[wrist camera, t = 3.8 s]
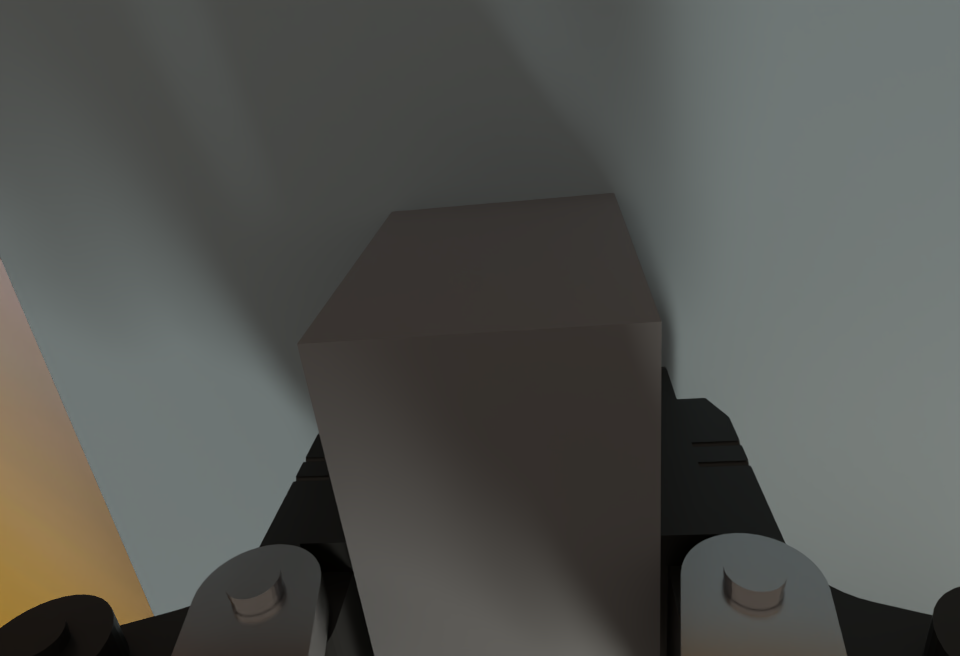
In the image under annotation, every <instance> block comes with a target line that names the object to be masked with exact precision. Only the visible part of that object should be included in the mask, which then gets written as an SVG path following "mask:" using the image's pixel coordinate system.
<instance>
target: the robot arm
mask: <svg viewBox="0 0 960 656" xmlns="http://www.w3.org/2000/svg"><path fill="white" fill-rule="evenodd" d="M748 461H749V460H748V458H747V456H746V454H745V451H744V449H743V447H742V445H740V440H739V438H738V436H737V433H736V431H735V429H734V427H733V424H732V422H731V420H730V418H729V416H727V415H726V414H725V413H724V412H722V411H721V410H720V409H719V408H717V407H716V406H715V405H714V404H712V403H711V402H710V401H709V400H707V399H706V398H691V399H677V398H676V395H675V392H674V389H673V386H672V383H671V380H670V377H669V374H668V371H667V369H666V367H661V544H660V656H960V587H957V588H954V589H952V590H950V591H948V592H947V593H945V594H944V595H943V596H942V597H941V598H940V599H939V600H938V601H937V603H936V605H935V607H934V610H933V615H929V614H925V613H921V612H916V611H912V610H907V609H903V608H898V607H894V606H890V605H885V604H881V603H876V602H872V601H869V600H865V599H861V598H858V597H855V596H852V595H850V594H847V593H844V592H842V591H840V590H838V589H836V588H834V587H832V586H830V585H829V584H828V582H827V580H826V578H825V576H824V575H823V573H822V572H821V570H820V569H819V568H818V567H817V566H816V565H815V564H814V563H813V562H812V561H811V560H810V559H809V558H808V557H806V556H805V555H804V554H802V553H801V552H799V551H798V550H796V549H795V548H793V547H791V546H789V545H787V544H786V543H785V541H784V539H783V537H782V534H781V532H780V530H779V528H778V525H777V523H776V521H775V519H774V516H773V514H772V512H771V510H770V507H769V505H768V503H767V501H766V498H765V496H764V494H763V492H762V489H761V487H760V485H759V483H758V481H757V478H756V476H755V474H754V472H753V469H752V467H751V466H749V462H748ZM0 656H374V652H373V648H372V644H371V640H370V636H369V632H368V628H367V624H366V620H365V616H364V612H363V608H362V604H361V600H360V596H359V592H358V588H357V584H356V580H355V576H354V572H353V568H352V564H351V560H350V556H349V552H348V547H347V543H346V539H345V535H344V531H343V527H342V523H341V519H340V515H339V511H338V507H337V503H336V499H335V495H334V491H333V487H332V483H331V479H330V475H329V471H328V467H327V463H326V459H325V455H324V451H323V447H322V443H321V439H320V435H319V434H318V435H317V436H316V438H315V440H314V442H313V444H312V446H311V448H310V450H309V452H308V454H307V456H306V462H303V463H302V465H301V467H300V469H299V471H298V473H297V475H296V481H294V482H293V483H292V485H291V487H290V488H289V490H288V492H287V494H286V496H285V498H284V500H283V502H282V504H281V506H280V508H279V510H278V512H277V514H276V515H275V517H274V519H273V521H272V523H271V525H270V527H269V529H268V531H267V533H266V535H265V537H264V539H263V541H262V542H261V544H260V546H259V547H258V548H255V549H252V550H248V551H246V552H244V553H241V554H239V555H237V556H235V557H233V558H232V559H230V560H228V561H226V562H225V563H224V564H222V565H221V566H219V567H218V568H217V569H216V570H215V571H213V572H212V573H211V574H210V575H209V576H208V577H207V578H206V579H205V580H204V582H203V583H202V584H201V586H200V587H199V588H198V590H197V591H196V594H195V596H194V598H193V600H192V602H191V605H190V606H188V607H185V608H182V609H179V610H175V611H172V612H168V613H164V614H161V615H157V616H153V617H150V618H146V619H142V620H139V621H135V622H131V623H128V624H124V625H121V626H120V625H119V623H118V621H117V619H116V617H115V614H114V612H113V610H112V608H111V607H110V605H109V604H108V602H106V601H105V600H103V599H102V598H99V597H96V596H92V595H72V596H65V597H61V598H58V599H54V600H51V601H48V602H46V603H43V604H40V605H38V606H36V607H34V608H32V609H30V610H28V611H26V612H24V613H22V614H21V615H19V616H17V617H16V618H14V619H13V620H11V621H10V622H8V623H7V624H5V625H4V626H3V627H1V628H0Z"/></svg>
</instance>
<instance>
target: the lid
mask: <svg viewBox="0 0 960 656" xmlns="http://www.w3.org/2000/svg"><path fill="white" fill-rule="evenodd" d="M0 258H1V260H2V262H3V265H4V267H5V269H6V272H7V274H8V276H9V279H10V281H11V283H12V286H13V288H14V290H15V293H16V295H17V297H18V300H19V302H20V304H21V307H22V309H23V311H24V314H25V316H26V318H27V321H28V323H29V325H30V328H31V330H32V332H33V335H34V337H35V339H36V342H37V344H38V346H39V349H40V351H41V353H42V356H43V358H44V360H45V363H46V365H47V367H48V370H49V372H50V374H51V377H52V379H53V381H54V384H55V386H56V388H57V391H58V393H59V395H60V398H61V400H62V402H63V405H64V407H65V409H66V412H67V414H68V416H69V419H70V421H71V423H72V426H73V428H74V430H75V432H76V435H77V437H78V439H79V442H80V444H81V446H82V449H83V451H84V453H85V456H86V458H87V460H88V463H89V465H90V467H91V470H92V472H93V474H94V477H95V479H96V481H97V484H98V486H99V488H100V491H101V493H102V495H103V498H104V500H105V502H106V505H107V507H108V509H109V512H110V514H111V516H112V519H113V521H114V523H115V526H116V528H117V530H118V533H119V535H120V537H121V540H122V542H123V544H124V547H125V549H126V551H127V554H128V556H129V558H130V561H131V563H132V565H133V568H134V570H135V572H136V575H137V577H138V579H139V582H140V584H141V586H142V589H143V591H144V593H145V596H146V598H147V600H148V603H149V605H150V607H151V610H152V612H153V614H154V616H157V615H161V614H164V613H168V612H172V611H175V610H179V609H182V608H185V607H188V606H190V605H191V602H192V600H193V598H194V596H195V594H196V591H197V590H198V588H199V587H200V586H201V584H202V583H203V582H204V580H205V579H206V578H207V577H208V576H209V575H210V574H211V573H212V572H213V571H215V570H216V569H217V568H218V567H219V566H221V565H222V564H224V563H225V562H226V561H228V560H230V559H232V558H233V557H235V556H237V555H239V554H241V553H244V552H246V551H248V550H252V549H255V548H258V547H259V546H260V544H261V542H262V541H263V539H264V537H265V535H266V533H267V531H268V529H269V527H270V525H271V523H272V521H273V519H274V517H275V515H276V514H277V512H278V510H279V508H280V506H281V504H282V502H283V500H284V498H285V496H286V494H287V492H288V490H289V488H290V487H291V485H292V483H293V482H294V481H296V475H297V473H298V471H299V469H300V467H301V465H302V463H303V462H306V456H307V454H308V452H309V450H310V448H311V446H312V444H313V442H314V440H315V438H316V436H317V435H318V434H319V435H320V439H321V443H322V447H323V451H324V455H325V459H326V463H327V467H328V471H329V475H330V479H331V483H332V487H333V491H334V495H335V499H336V503H337V507H338V511H339V515H340V519H341V523H342V527H343V531H344V535H345V539H346V543H347V547H348V552H349V556H350V560H351V564H352V568H353V572H354V576H355V580H356V584H357V588H358V592H359V596H360V600H361V604H362V608H363V612H364V616H365V620H366V624H367V628H368V632H369V636H370V640H371V644H372V648H373V652H374V656H660V544H661V367H666V369H667V371H668V374H669V377H670V380H671V383H672V386H673V389H674V392H675V395H676V398H677V399H691V398H706V399H707V400H709V401H710V402H711V403H712V404H714V405H715V406H716V407H717V408H719V409H720V410H721V411H722V412H724V413H725V414H726V415H727V416H729V418H730V420H731V422H732V424H733V427H734V429H735V431H736V433H737V436H738V438H739V440H740V445H742V447H743V449H744V451H745V454H746V456H747V458H748V460H749V461H748V462H749V466H751V467H752V469H753V472H754V474H755V476H756V478H757V481H758V483H759V485H760V487H761V489H762V492H763V494H764V496H765V498H766V501H767V503H768V505H769V507H770V510H771V512H772V514H773V516H774V519H775V521H776V523H777V525H778V528H779V530H780V532H781V534H782V537H783V539H784V541H785V543H786V544H787V545H789V546H791V547H793V548H795V549H796V550H798V551H799V552H801V553H802V554H804V555H805V556H806V557H808V558H809V559H810V560H811V561H812V562H813V563H814V564H815V565H816V566H817V567H818V568H819V569H820V570H821V572H822V573H823V575H824V576H825V578H826V580H827V582H828V584H829V585H830V586H832V587H834V588H836V589H838V590H840V591H842V592H844V593H847V594H850V595H852V596H855V597H858V598H861V599H865V600H869V601H872V602H876V603H881V604H885V605H890V606H894V607H898V608H903V609H907V610H912V611H916V612H921V613H925V614H929V615H933V610H934V607H935V605H936V603H937V601H938V600H939V599H940V598H941V597H942V596H943V595H944V594H945V593H947V592H948V591H950V590H952V589H954V588H957V587H960V0H0Z"/></svg>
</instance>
